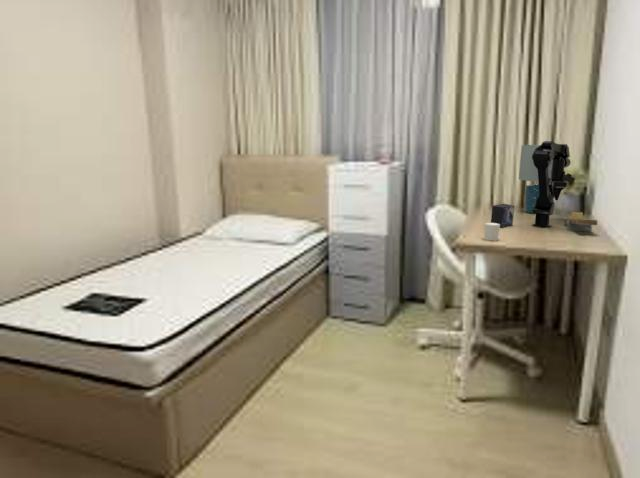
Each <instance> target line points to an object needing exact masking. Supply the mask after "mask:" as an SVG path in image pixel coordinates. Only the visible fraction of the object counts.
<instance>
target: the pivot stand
mask: <svg viewBox="0 0 640 478" xmlns="http://www.w3.org/2000/svg"><path fill="white" fill-rule="evenodd" d="M570 222H571V221H570V220H568V221H567V223H565V226H566V230H567V231H569V232H578V233H577V235H578V236H585V235H593V236H594V233H592V230H593V225H581V224H570ZM586 231H591V232H586Z"/></svg>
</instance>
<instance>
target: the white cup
mask: <svg viewBox="0 0 640 478" xmlns="http://www.w3.org/2000/svg"><path fill="white" fill-rule="evenodd" d="M483 224H484V225H483V230H484V231H483V232H484V235H483V237H484V240H486V241H492V242H493V241H495V242H497V241H498V239H499V233H500V230H501V228H500V224H498V223H491V222H484V223H483Z"/></svg>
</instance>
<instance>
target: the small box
mask: <svg viewBox="0 0 640 478" xmlns="http://www.w3.org/2000/svg"><path fill="white" fill-rule="evenodd" d="M514 210H515V205H512V204H507V203H500V204H494V205H492V206H491V217H490V218H491V219H490V223H498V224H500V229H501V228H506V227H507V226H508V227H512V226H513V222H514V212H515V211H514ZM508 227H507V228H508Z"/></svg>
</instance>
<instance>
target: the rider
mask: <svg viewBox="0 0 640 478" xmlns="http://www.w3.org/2000/svg"><path fill="white" fill-rule="evenodd" d="M583 214H584V213H583V212H578V211H568V212H567V219H577V220H583V216H584V215H583Z"/></svg>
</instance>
